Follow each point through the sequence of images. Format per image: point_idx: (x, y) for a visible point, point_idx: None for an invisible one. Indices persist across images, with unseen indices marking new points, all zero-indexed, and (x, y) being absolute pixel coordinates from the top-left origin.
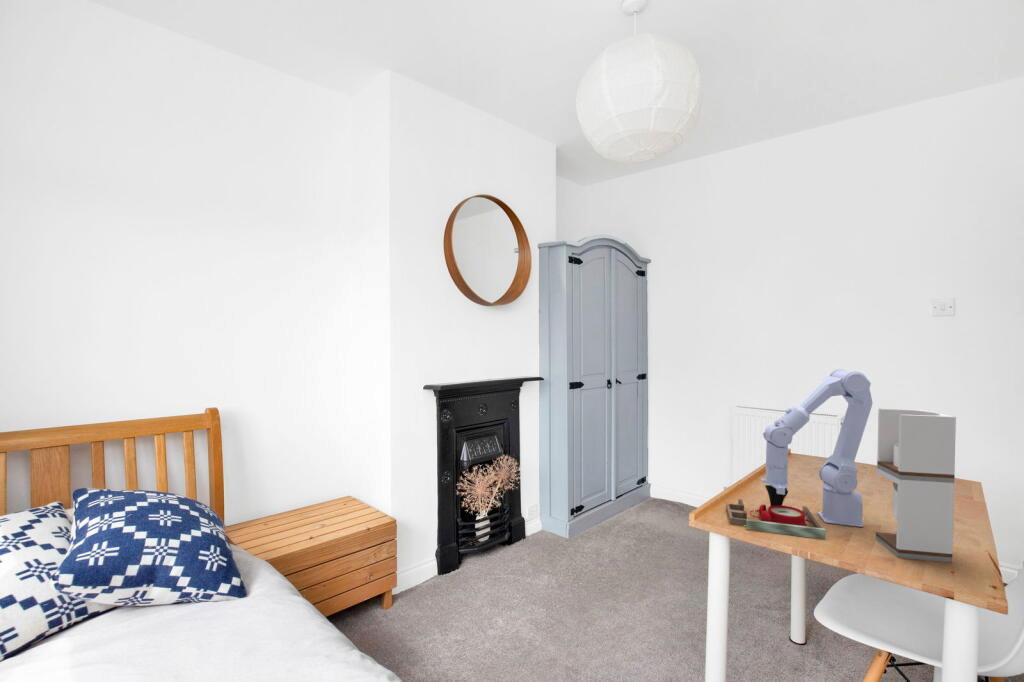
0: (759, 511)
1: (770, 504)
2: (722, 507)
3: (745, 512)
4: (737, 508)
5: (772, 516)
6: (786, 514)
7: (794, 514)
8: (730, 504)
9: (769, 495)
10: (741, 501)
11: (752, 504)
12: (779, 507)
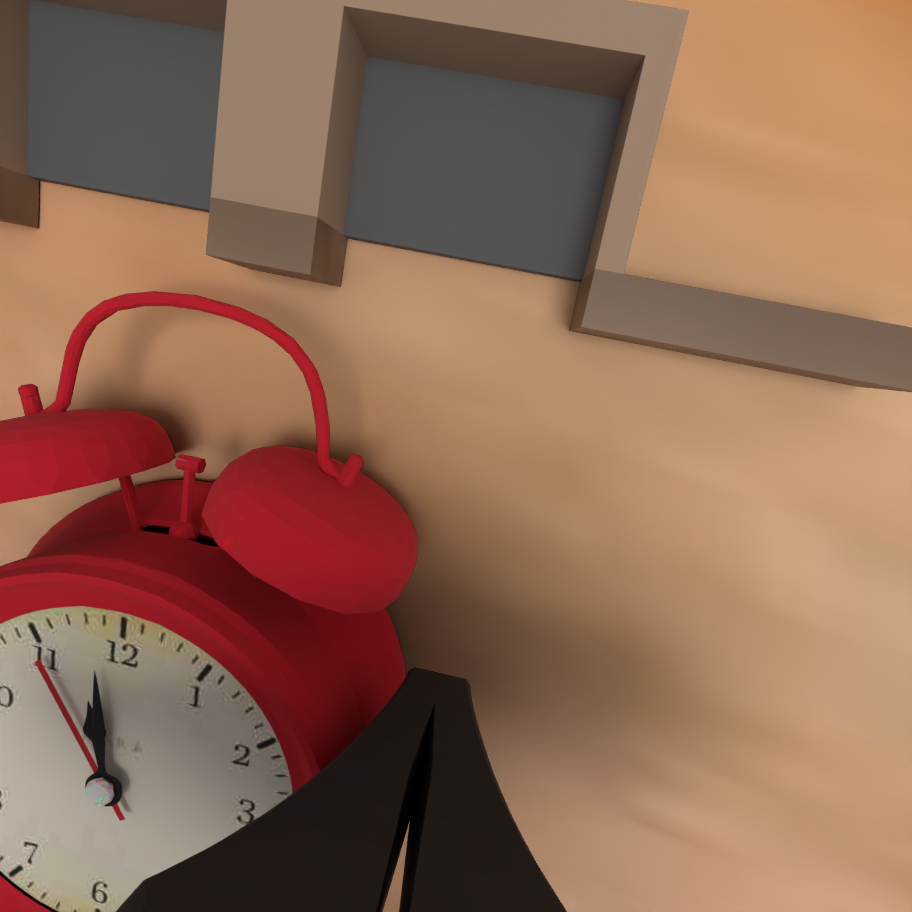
0: (244, 456)
1: (464, 717)
2: (731, 24)
3: (251, 245)
4: (594, 231)
5: (34, 554)
6: (16, 747)
7: (55, 846)
8: (638, 91)
9: (280, 821)
10: (809, 351)
11: (899, 557)
12: (293, 781)
